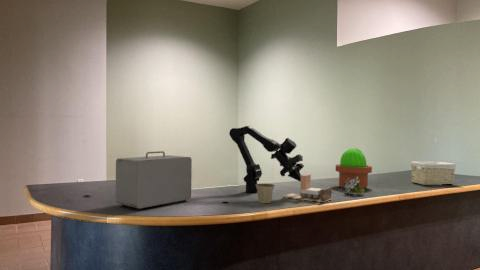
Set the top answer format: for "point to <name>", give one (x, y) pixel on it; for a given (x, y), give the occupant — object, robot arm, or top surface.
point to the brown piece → (308, 188)
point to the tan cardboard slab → (323, 197)
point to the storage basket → (433, 173)
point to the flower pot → (265, 192)
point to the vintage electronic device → (152, 180)
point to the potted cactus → (353, 168)
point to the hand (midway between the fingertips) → (302, 181)
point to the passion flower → (354, 186)
